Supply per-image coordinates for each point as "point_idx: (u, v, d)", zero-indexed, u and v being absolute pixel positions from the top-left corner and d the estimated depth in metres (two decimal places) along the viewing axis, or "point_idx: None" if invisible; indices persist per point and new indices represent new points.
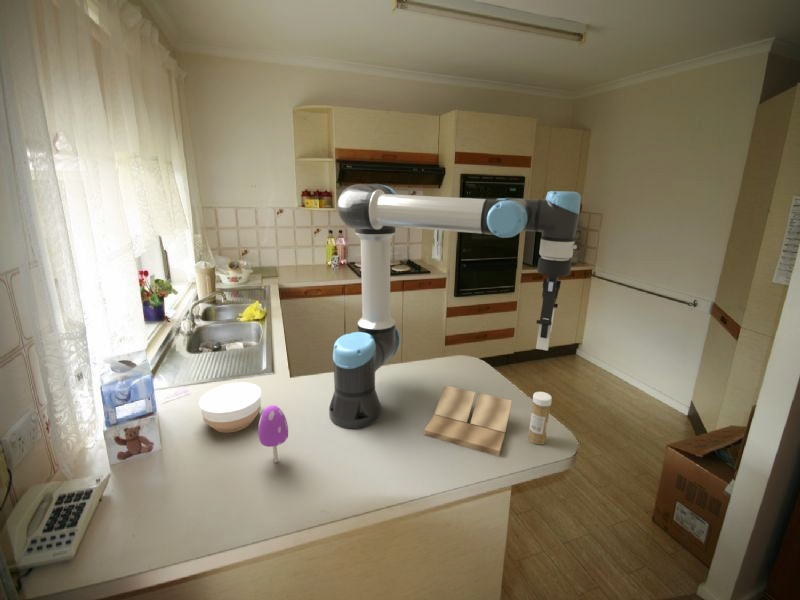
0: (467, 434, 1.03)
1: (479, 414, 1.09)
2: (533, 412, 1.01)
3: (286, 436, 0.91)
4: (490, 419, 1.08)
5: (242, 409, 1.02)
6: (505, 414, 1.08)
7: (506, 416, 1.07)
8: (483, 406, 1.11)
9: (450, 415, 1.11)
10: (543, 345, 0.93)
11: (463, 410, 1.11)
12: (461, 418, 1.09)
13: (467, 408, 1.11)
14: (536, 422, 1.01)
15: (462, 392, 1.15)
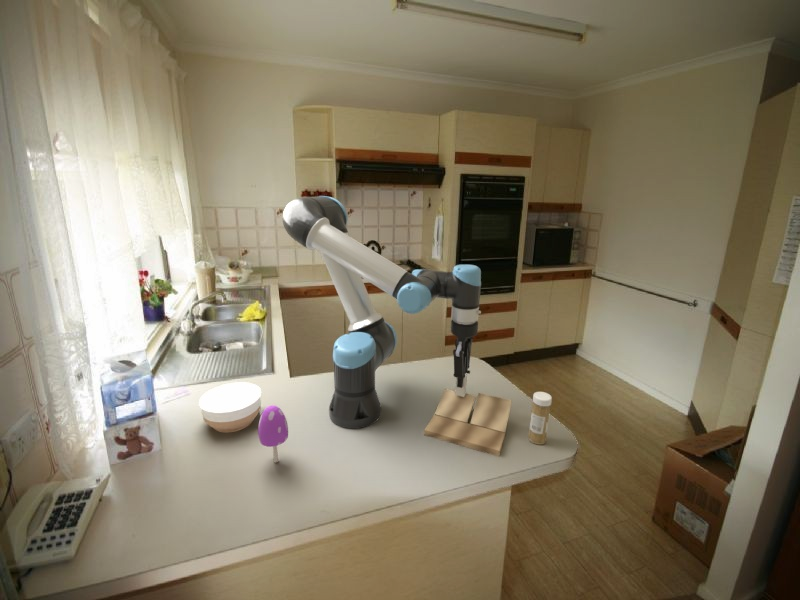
0: (467, 434, 1.03)
1: (479, 414, 1.09)
2: (533, 412, 1.01)
3: (286, 436, 0.91)
4: (490, 419, 1.08)
5: (242, 409, 1.02)
6: (505, 414, 1.08)
7: (506, 416, 1.07)
8: (483, 406, 1.11)
9: (450, 415, 1.11)
10: (460, 392, 1.15)
11: (463, 411, 1.11)
12: (461, 418, 1.10)
13: (467, 410, 1.12)
14: (536, 422, 1.01)
15: None
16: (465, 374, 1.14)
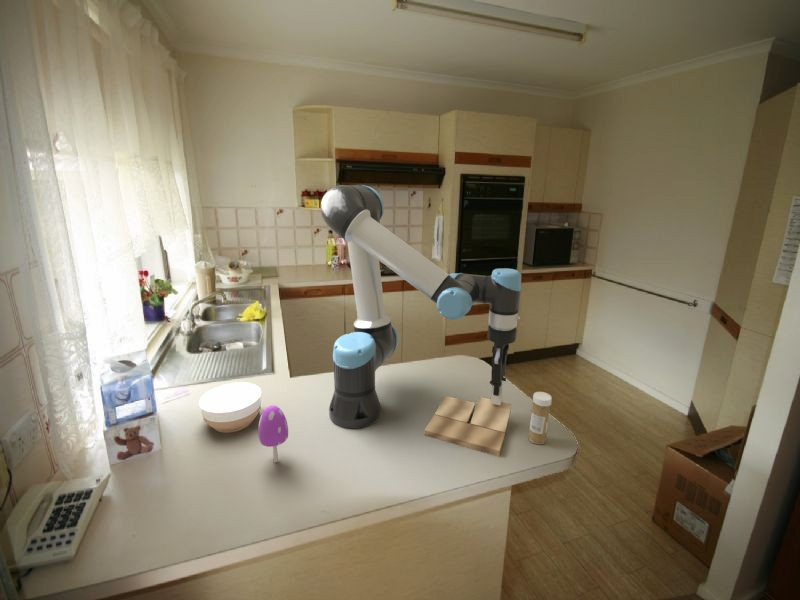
0: (467, 434, 1.03)
1: (479, 416, 1.10)
2: (533, 412, 1.01)
3: (286, 436, 0.91)
4: (490, 419, 1.08)
5: (242, 409, 1.02)
6: (505, 416, 1.08)
7: (506, 418, 1.08)
8: (483, 408, 1.11)
9: (450, 416, 1.11)
10: (496, 401, 1.11)
11: (463, 414, 1.12)
12: (461, 419, 1.10)
13: (467, 413, 1.12)
14: (536, 422, 1.01)
15: (462, 402, 1.17)
16: (501, 382, 1.10)
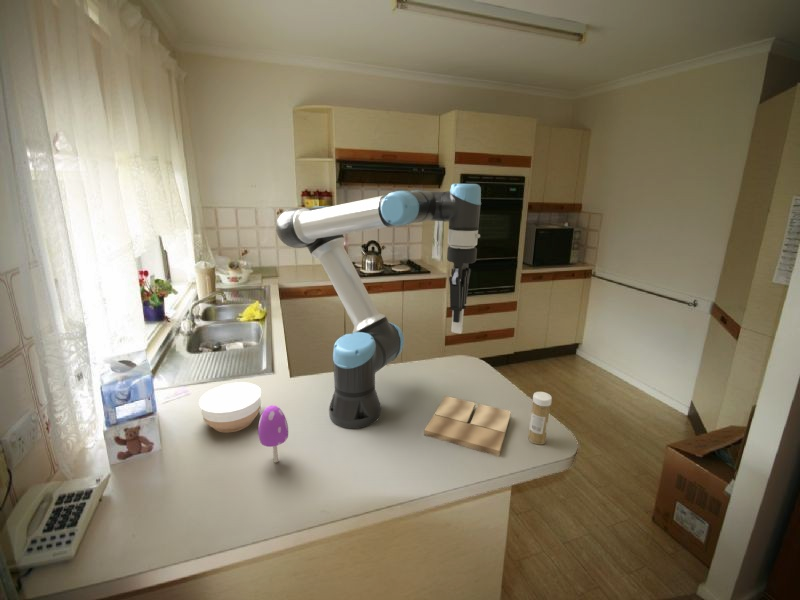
0: (467, 434, 1.03)
1: (479, 418, 1.10)
2: (533, 412, 1.01)
3: (286, 436, 0.91)
4: (490, 422, 1.08)
5: (242, 409, 1.02)
6: (505, 420, 1.09)
7: (505, 421, 1.08)
8: (483, 413, 1.12)
9: (450, 416, 1.11)
10: (457, 329, 1.05)
11: (463, 414, 1.12)
12: (461, 419, 1.10)
13: (467, 413, 1.12)
14: (536, 422, 1.01)
15: (462, 402, 1.17)
16: (462, 309, 1.05)
